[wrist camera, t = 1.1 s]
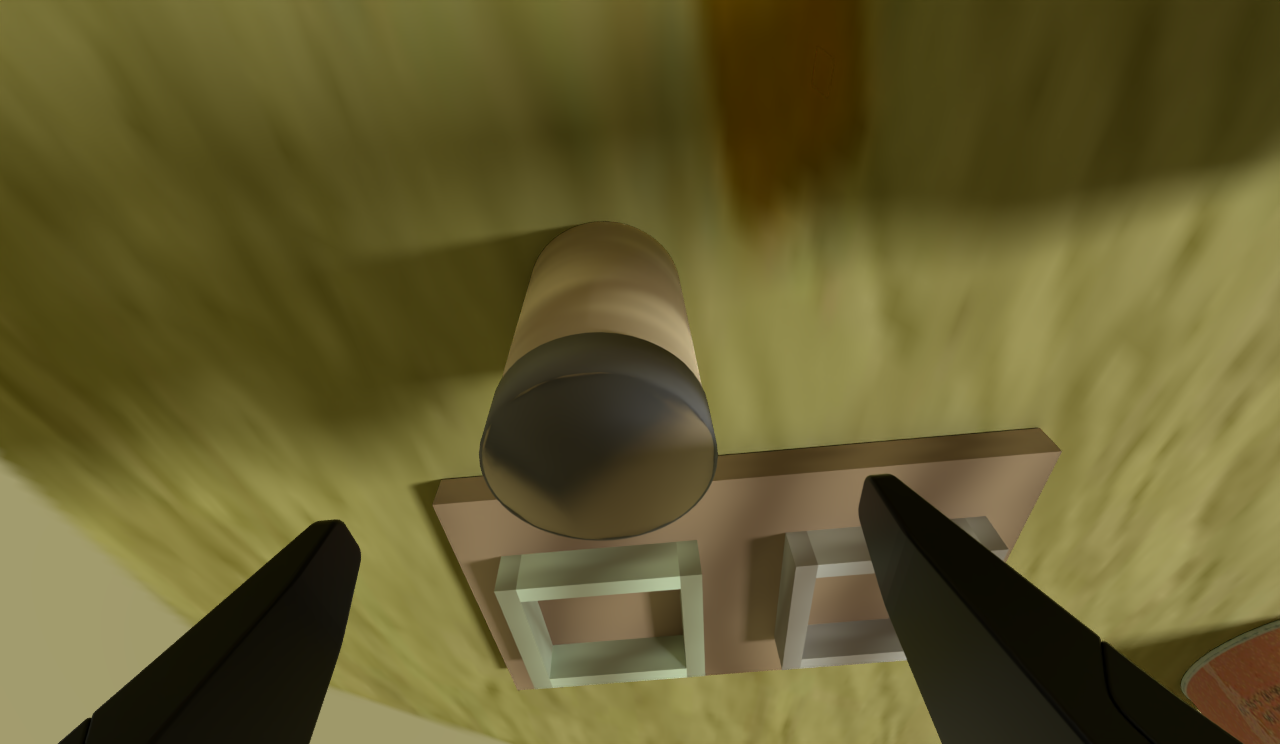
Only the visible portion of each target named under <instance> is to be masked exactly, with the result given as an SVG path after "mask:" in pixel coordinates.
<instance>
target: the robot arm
mask: <svg viewBox="0 0 1280 744" xmlns="http://www.w3.org/2000/svg"><path fill="white" fill-rule="evenodd" d="M858 515H859V520H860V524H861V527H862V531H863V534H864V538H865V541H866V544H867V548H868V551H869V555H870V558H871V562H872V565H873V568H874V572H875V575H876V579H877V582H878V585H879V589H880V592H881V595H882V598H883V602H884V605H885V607H886V610H887V613H888V615H889V618H890V620H891V623H892V625H893V628H894V630H895V632H896V635H897V637H898V639H899V642H900V644H901V647H902V649H903V651H904V654H905V656H906V659H907V661H908V663H909V666H910V668H911V671H912V673H913V675H914V678H915V680H916V683H917V685H918V687H919V690H920V692H921V695H922V697H923V699H924V702H925V704H926V706H927V709H928V711H929V714H930V716H931V718H932V721H933V723H934V726H935V728H936V730H937V733H938V735H939V738H940V740H941V742H942V744H1244V743H1242V742H1241V741H1239V740H1238V739H1236V738H1235V737H1234V736H1232V735H1231V734H1229V733H1228V732H1226V731H1225V730H1224V729H1222V728H1221V727H1219V726H1218V725H1217V724H1215V723H1214V722H1212V721H1211V720H1210V719H1208V718H1207V717H1205V716H1204V715H1203V714H1201V713H1200V712H1198V711H1197V710H1196V709H1194V708H1193V707H1191V706H1190V705H1189V704H1187V703H1186V702H1184V701H1183V700H1182V699H1180V698H1179V697H1177V696H1176V695H1175V694H1173V693H1172V692H1171V691H1170V690H1168V689H1167V688H1166V687H1164V686H1163V685H1162V684H1160V683H1159V682H1158V681H1156V680H1155V679H1154V678H1152V677H1151V676H1150V675H1148V674H1147V673H1146V672H1144V671H1143V670H1142V669H1141V668H1139V667H1138V666H1137V665H1135V664H1134V663H1133V662H1131V661H1130V660H1129V659H1128V658H1126V657H1125V656H1124V655H1123V654H1121V653H1120V652H1119V651H1117V650H1116V649H1115V648H1114V647H1112V646H1111V645H1110V644H1109V643H1107V642H1105V641H1102V642H1101V639H1100V637H1099V636H1098V635H1097V634H1095V633H1094V632H1093V631H1092V630H1090V629H1089V628H1088V627H1087V626H1085V625H1084V624H1083V623H1081V622H1080V621H1079V620H1078V619H1076V618H1075V617H1074V616H1073V615H1071V614H1070V613H1069V612H1068V611H1066V610H1065V609H1064V608H1062V607H1061V606H1060V605H1059V604H1057V603H1056V602H1055V601H1054V600H1052V599H1051V598H1050V597H1048V596H1047V595H1046V594H1045V593H1043V592H1042V591H1041V590H1040V589H1038V588H1037V587H1036V586H1034V585H1033V584H1032V583H1031V582H1029V581H1028V580H1027V579H1026V578H1024V577H1023V576H1022V575H1020V574H1019V573H1018V572H1017V571H1015V570H1014V569H1013V568H1012V567H1010V566H1009V565H1008V564H1006V563H1005V562H1004V561H1003V560H1001V559H1000V558H999V557H998V556H996V555H995V554H994V553H992V552H991V551H990V550H989V549H987V548H986V547H985V546H984V545H982V544H981V543H980V542H978V541H977V540H976V539H975V538H973V537H972V536H971V535H970V534H968V533H967V532H966V531H964V530H963V529H962V528H961V527H959V526H958V525H957V524H956V523H954V522H953V521H952V520H950V519H949V518H948V517H947V516H945V515H944V514H943V513H942V512H940V511H939V510H938V509H937V508H935V507H934V506H933V505H931V504H930V503H929V502H928V501H926V500H925V499H924V498H923V497H921V496H920V495H919V494H917V493H916V492H915V491H914V490H912V489H911V488H910V487H909V486H907V485H906V484H905V483H903V482H902V481H901V480H900V479H898V478H897V477H896V476H894V475H892V474H876V475H869V476H867V477H866V478H865V480H864V484H863V488H862V493H861V497H860V502H859V507H858ZM360 562H361V552H360V548H359V546H358V544H357V543H356V541H355V539H354V538H353V536H352V535H351V533H350V531H349V530H348V528H347V527H346V525H345V524H344V522H342V521H341V520H337V519H336V520H324V521H317V522H315V523H313V524H311V525H310V526H309V527H308V528H307V529H305V530H304V531H303V532H302V533H301V534H300V535H298V536H297V537H296V538H295V539H294V540H293V541H292V542H290V543H289V544H288V545H287V546H286V547H285V548H283V549H282V550H281V551H280V552H279V553H278V554H277V555H275V556H274V557H273V558H272V559H271V560H270V561H268V562H267V563H266V564H265V565H264V566H263V567H262V568H260V569H259V570H258V571H257V572H256V573H255V574H253V575H252V576H251V577H250V578H249V579H248V580H246V581H245V582H244V583H243V584H242V585H241V586H240V587H238V588H237V589H236V590H235V591H234V592H233V593H231V594H230V595H229V596H228V597H227V598H226V599H225V600H223V601H222V602H221V603H220V604H219V605H218V606H216V607H215V608H214V609H213V610H212V611H211V612H210V613H208V614H207V615H206V616H205V617H204V618H203V619H201V620H200V621H199V622H198V623H197V624H196V625H194V626H193V627H192V628H191V629H190V630H189V631H188V632H186V633H185V634H184V635H183V636H182V637H181V638H179V639H178V640H177V641H176V642H175V643H174V644H173V645H171V646H170V647H169V648H168V649H167V650H166V651H164V652H163V653H162V654H161V655H160V656H159V657H158V658H156V659H155V660H154V661H153V662H152V663H151V664H149V665H148V666H147V667H146V668H145V669H144V670H142V671H141V672H140V673H139V674H138V675H137V676H136V677H134V678H133V679H132V680H131V681H130V682H129V683H127V684H126V685H125V686H124V687H123V688H122V689H121V690H119V691H118V692H117V693H116V694H115V695H114V696H112V697H111V698H110V699H109V700H108V701H107V702H106V703H104V704H103V705H102V706H101V707H100V708H99V709H97V710H96V711H95V712H94V713H93V715H92V718H87V719H86V720H85V721H83V722H82V723H81V724H80V725H79V726H78V727H76V728H75V729H74V730H73V731H72V732H71V733H70V734H68V735H67V736H66V737H65V738H64V739H63V740H61V741H60V742H59V743H58V744H309V743H310V740H311V737H312V734H313V731H314V728H315V725H316V722H317V719H318V716H319V713H320V710H321V707H322V704H323V701H324V698H325V695H326V692H327V689H328V686H329V683H330V680H331V677H332V674H333V671H334V668H335V665H336V662H337V659H338V656H339V652H340V649H341V645H342V642H343V638H344V634H345V629H346V625H347V620H348V616H349V611H350V607H351V603H352V598H353V594H354V589H355V585H356V580H357V576H358V571H359V567H360Z"/></svg>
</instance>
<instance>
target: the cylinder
mask: <svg viewBox="0 0 1280 744" xmlns="http://www.w3.org/2000/svg"><path fill="white" fill-rule="evenodd" d="M479 459H480V467H481V471H482V474H483V477H484V480H485V482H486V484H487V486H488V488H489V489H490V491H491V492H492V494H493V495H494V497H495V498H496V499H497V500H498V501H499V502H500V503H501V504H502V506H504V507H505V508H506V509H507V510H508V511H509V512H511V513H512V514H513V515H515V516H516V517H518V518H519V519H521V520H522V521H524V522H526V523H528V524H530V525H531V526H533V527H536V528H538V529H540V530H543V531H545V532H548V533H552V534H555V535H558V536H563V537H567V538H572V539H580V540H592V541H607V540H619V539H627V538H632V537H636V536H641V535H644V534H647V533H651V532H654V531H656V530H658V529H661V528H663V527H665V526H667V525H669V524H671V523H673V522H675V521H676V520H678V519H679V518H681V517H682V516H684V515H685V514H687V513H688V512H689V511H690V510H691V509H692V508H694V507H695V506H696V505H697V503H698V502H699V501H700V500H701V499H702V498H703V497H704V495H705V494H706V492H707V491H708V489H709V487H710V485H711V483H712V481H713V479H714V476H715V472H716V468H717V460H718V452H717V443H716V439H715V434H714V429H713V425H712V420H711V415H710V411H709V406H708V402H707V399H706V395H705V392H704V390H703V388H702V385H701V380H700V375H699V370H698V366H697V361H696V356H695V351H694V347H693V342H692V337H691V332H690V327H689V323H688V318H687V313H686V308H685V303H684V299H683V294H682V289H681V284H680V280H679V276H678V272H677V269H676V267H675V264H674V262H673V260H672V258H671V257H670V255H669V254H668V252H667V251H666V250H665V249H664V247H663V246H662V245H661V244H660V243H659V242H657V241H656V240H655V239H654V238H653V237H651V236H650V235H648V234H647V233H645V232H643V231H641V230H639V229H637V228H635V227H632V226H629V225H626V224H621V223H617V222H592V223H586V224H582V225H579V226H575V227H573V228H571V229H569V230H567V231H565V232H563V233H562V234H560V235H558V236H557V237H556V238H555V239H553V240H552V241H551V242H550V243H549V244H548V245H547V246H546V247H545V248H544V249H543V251H542V252H541V254H540V255H539V257H538V259H537V261H536V263H535V265H534V268H533V271H532V275H531V278H530V282H529V285H528V289H527V292H526V296H525V299H524V303H523V306H522V310H521V313H520V316H519V320H518V323H517V327H516V330H515V334H514V337H513V341H512V344H511V348H510V351H509V355H508V358H507V362H506V365H505V369H504V372H503V376H502V379H501V381H500V383H499V385H498V387H497V389H496V391H495V394H494V398H493V401H492V404H491V408H490V411H489V415H488V418H487V421H486V425H485V428H484V432H483V435H482V438H481V442H480V450H479Z"/></svg>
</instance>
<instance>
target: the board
mask: <svg viewBox="0 0 1280 744" xmlns="http://www.w3.org/2000/svg"><path fill="white" fill-rule="evenodd" d="M1061 452H1062V451H1061V450H1060V449H1059V448H1058V447H1057V445H1056V444H1055V443H1054V442H1053V441H1052V440H1051V439H1050V438H1049V437H1048V436H1047V435H1046V434H1045V433H1044V432H1043V431H1042V430H1041V428H1035V429H1024V430H1012V431H1001V432H989V433H978V434H966V435H954V436H943V437H931V438H920V439H908V440H897V441H885V442H873V443H862V444H850V445H839V446H827V447H815V448H804V449H792V450H781V451H769V452H758V453H746V454H734V455H723V456H718V460H717V468H716V472H715V476H714V479H713V481H712V483H711V485H710V487H709V489H708V491H707V492H706V494H705V495H704V497H703V498H702V499H701V500H700V501H699V502H698V503H697V505H696V506H695V507H694V508H692V509H691V510H690V511H689V512H688V513H687V514H685V515H684V516H682V517H681V518H679V519H678V520H676V521H675V522H673V523H671V524H669V525H667V526H665V527H663V528H661V529H658V530H656V531H654V532H651V533H647V534H644V535H641V536H636V537H632V538H627V539H619V540H607V541H592V540H580V539H572V538H567V537H563V536H558V535H555V534H552V533H548V532H545V531H543V530H540V529H538V528H536V527H533V526H531V525H530V524H528V523H526V522H524V521H522V520H521V519H519V518H518V517H516V516H515V515H513V514H512V513H511V512H509V511H508V510H507V509H506V508H505V507H504V506H502V504H501V503H500V502H499V501H498V500H497V499H496V498H495V497H494V495H493V494H492V492H491V491H490V489H489V488H488V486H487V484H486V482H485V480H484V477H483V476H480V477H468V478H456V479H445V480H441V482H440V485H439V488H438V490H437V493H436V496H435V499H434V502H433V507H434V510H435V512H436V514H437V516H438V518H439V521H440V523H441V525H442V527H443V529H444V531H445V534H446V536H447V538H448V540H449V542H450V544H451V547H452V549H453V551H454V553H455V555H456V557H457V560H458V562H459V564H460V566H461V568H462V570H463V573H464V575H465V577H466V579H467V581H468V583H469V586H470V588H471V590H472V592H473V594H474V596H475V599H476V601H477V603H478V605H479V607H480V609H481V612H482V614H483V616H484V618H485V620H486V622H487V625H488V627H489V629H490V631H491V633H492V635H493V638H494V640H495V642H496V644H497V646H498V648H499V651H500V653H501V655H502V657H503V659H504V661H505V664H506V666H507V668H508V670H509V672H510V674H511V677H512V679H513V681H514V683H515V685H516V688H517V690H525V689H543V688H556V687H569V686H581V685H594V684H607V683H620V682H633V681H646V680H658V679H671V678H684V677H697V676H705V675H718V674H730V673H743V672H756V671H769V670H787V669H800V668H812V667H825V666H838V665H851V664H864V663H876V662H889V661H902V660H907V659H906V656H905V654H904V651H903V649H902V647H901V644H900V642H899V639H898V637H897V635H896V632H895V630H894V628H893V625H892V623H891V620H890V618H889V615H888V613H887V610H886V607H885V605H884V602H883V598H882V595H881V592H880V589H879V585H878V582H877V579H876V575H875V572H874V568H873V565H872V562H871V558H870V555H869V551H868V548H867V544H866V541H865V538H864V534H863V531H862V527H861V524H860V520H859V515H858V507H859V502H860V497H861V493H862V488H863V484H864V480H865V478H866V477H867V476H869V475H876V474H892V475H894V476H896V477H897V478H898V479H900V480H901V481H902V482H903V483H905V484H906V485H907V486H909V487H910V488H911V489H912V490H914V491H915V492H916V493H917V494H919V495H920V496H921V497H923V498H924V499H925V500H926V501H928V502H929V503H930V504H931V505H933V506H934V507H935V508H937V509H938V510H939V511H940V512H942V513H943V514H944V515H945V516H947V517H948V518H949V519H950V520H952V521H953V522H954V523H956V524H957V525H958V526H959V527H961V528H962V529H963V530H964V531H966V532H967V533H968V534H970V535H971V536H972V537H973V538H975V539H976V540H977V541H978V542H980V543H981V544H982V545H984V546H985V547H986V548H987V549H989V550H990V551H991V552H992V553H994V554H995V555H996V556H998V557H999V558H1000V559H1001V560H1003V561H1004V562H1005V563H1006V561H1007V559H1008V557H1009V555H1010V553H1011V551H1012V549H1013V547H1014V545H1015V543H1016V541H1017V539H1018V537H1019V535H1020V533H1021V531H1022V529H1023V527H1024V525H1025V523H1026V521H1027V519H1028V517H1029V515H1030V513H1031V511H1032V509H1033V508H1034V506H1035V504H1036V502H1037V500H1038V498H1039V496H1040V494H1041V492H1042V490H1043V488H1044V486H1045V484H1046V482H1047V480H1048V478H1049V476H1050V474H1051V472H1052V470H1053V468H1054V466H1055V464H1056V462H1057V460H1058V458H1059V456H1060V454H1061Z"/></svg>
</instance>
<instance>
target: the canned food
mask: <svg viewBox="0 0 1280 744" xmlns="http://www.w3.org/2000/svg"><path fill="white" fill-rule="evenodd" d="M1181 690H1182V692H1183V693H1184V694H1185V696H1186V697H1187V698H1188V699H1189V700H1191V701H1192V702H1193V703H1194V704H1195V706H1196V707H1197V708H1198V709H1199V711H1200V712H1201V713H1202V714H1203V715H1204V716H1205V717H1207V718H1208V719H1210V720H1211V721H1212V722H1214V723H1215V724H1217V725H1218V726H1219V727H1221V728H1222V729H1224V730H1225V731H1226V732H1228V733H1229V734H1231V735H1232V736H1234V737H1235V738H1236V739H1238V740H1239V741H1241V742H1242V743H1244V744H1280V620H1277V621H1274V622H1271V623H1268V624H1266V625H1263V626H1261V627H1258V628H1255V629H1253V630H1251V631H1248V632H1246V633H1244V634H1242V635H1239V636H1237V637H1235V638H1233V639H1231V640H1229V641H1227V642H1225V643H1224V644H1222V645H1220V646H1218V647H1216V648H1215V649H1213V650H1212V651H1210V652H1209V653H1207V654H1206V655H1204V656H1203V657H1201V658H1200V659H1199V660H1198V661H1197V662H1195V663H1194V664H1193V665H1192V666H1191V667H1190V668H1189V669H1188V671H1187V672H1186V673H1185V675H1184V676H1183V679H1182V682H1181Z"/></svg>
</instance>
